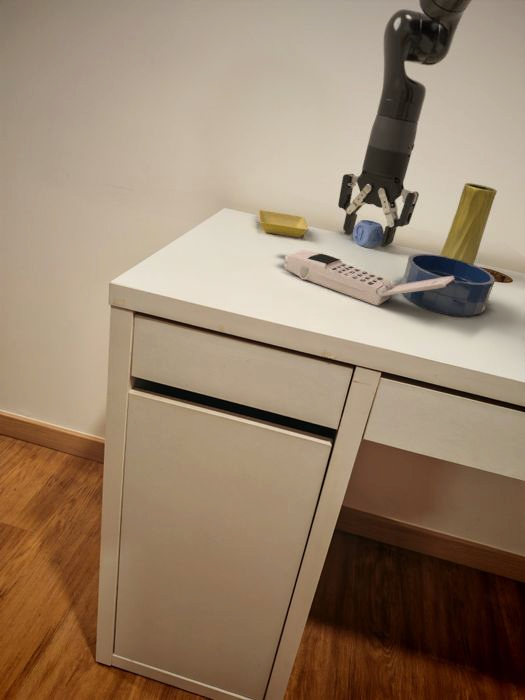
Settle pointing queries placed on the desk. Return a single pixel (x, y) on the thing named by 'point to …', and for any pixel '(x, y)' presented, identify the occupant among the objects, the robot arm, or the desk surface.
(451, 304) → the bowl
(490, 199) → the vase
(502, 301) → the desk surface
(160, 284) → the desk surface
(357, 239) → the decorative dice
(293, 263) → the mobile phone
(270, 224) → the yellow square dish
